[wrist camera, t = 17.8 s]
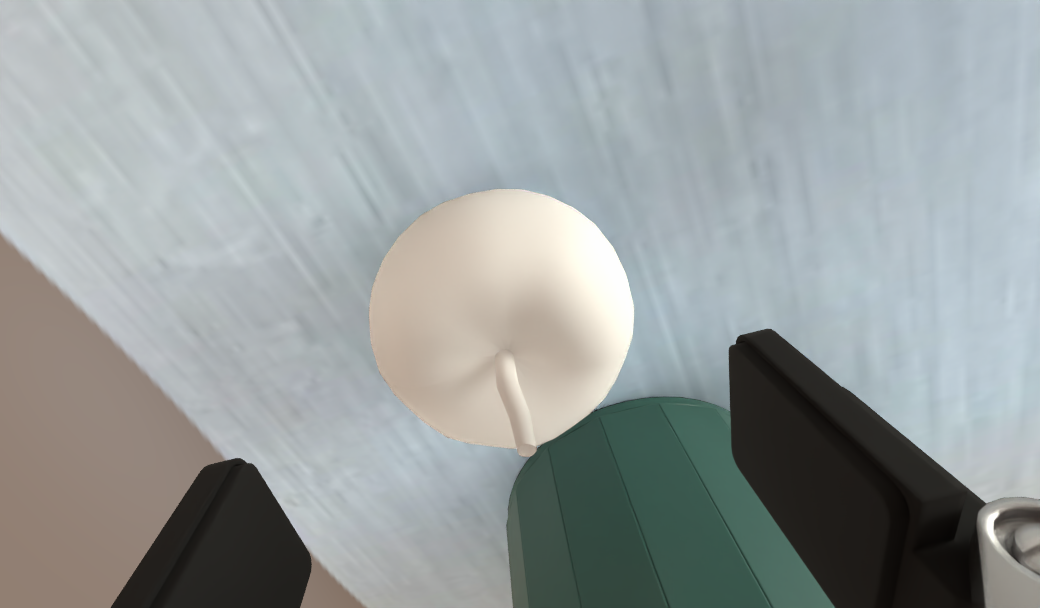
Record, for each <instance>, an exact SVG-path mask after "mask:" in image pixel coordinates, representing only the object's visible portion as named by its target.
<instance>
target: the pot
mask: <svg viewBox="0 0 1040 608" xmlns="http://www.w3.org/2000/svg"><path fill="white" fill-rule="evenodd" d="M506 526H507V540H508V552H509V564H510V576H511V588H512V600H513V608H835V607H834V605H833V604H832V603H831V601H830V600H829V598H828V597H827V595H826V594H825V593H824V591H823V590H822V588H821V587H820V585H819V584H818V582H817V581H816V580H815V578H814V577H813V575H812V574H811V572H810V571H809V569H808V568H807V567H806V565H805V564H804V562H803V561H802V559H801V558H800V557H799V555H798V554H797V552H796V551H795V549H794V548H793V546H792V545H791V544H790V542H789V541H788V539H787V538H786V536H785V535H784V534H783V532H782V531H781V529H780V528H779V526H778V525H777V523H776V522H775V521H774V519H773V518H772V516H771V515H770V513H769V512H768V511H767V509H766V508H765V506H764V505H763V503H762V502H761V500H760V499H759V498H758V496H757V495H756V493H755V492H754V490H753V489H752V487H751V486H750V485H749V483H748V482H747V480H746V479H745V477H744V476H743V475H742V473H741V472H740V470H739V469H738V467H737V465H736V463H735V461H734V458H733V455H732V449H731V416H730V411H728V410H726V409H723V408H721V407H719V406H717V405H714V404H711V403H707V402H704V401H700V400H695V399H688V398H682V397H654V398H643V399H637V400H631V401H626V402H622V403H619V404H615V405H612V406H608V407H605V408H603V409H600V410H598V411H595V412H593V413H590V414H589V415H587V416H586V417H585V418H583V419H582V420H581V421H579V422H578V423H577V424H575V425H574V426H573V427H571V428H570V429H568V430H567V431H565V432H564V433H562V434H561V435H559V436H558V437H556V438H555V439H553V440H550V441H548V442H545V443H544V444H543V445H541V446H540V448H539V449H538V450H537V451H536V453H535V454H534V455H532V456H531V457H530V459H529V460H528V461H527V463H526V464H525V466H524V467H523V468H522V470H521V472H520V474H519V476H518V478H517V479H516V481H515V483H514V486H513V489H512V492H511V495H510V500H509V507H508V520H507V525H506Z"/></svg>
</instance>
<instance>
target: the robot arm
mask: <svg viewBox="0 0 1040 608" xmlns="http://www.w3.org/2000/svg"><path fill="white" fill-rule="evenodd" d="M729 380H730V416H731V449H732V455H733V458H734V461H735V463H736V465H737V467H738V469H739V470H740V472H741V473H742V475H743V476H744V477H745V479H746V480H747V482H748V483H749V485H750V486H751V487H752V489H753V490H754V492H755V493H756V495H757V496H758V498H759V499H760V500H761V502H762V503H763V505H764V506H765V508H766V509H767V511H768V512H769V513H770V515H771V516H772V518H773V519H774V521H775V522H776V523H777V525H778V526H779V528H780V529H781V531H782V532H783V534H784V535H785V536H786V538H787V539H788V541H789V542H790V544H791V545H792V546H793V548H794V549H795V551H796V552H797V554H798V555H799V557H800V558H801V559H802V561H803V562H804V564H805V565H806V567H807V568H808V569H809V571H810V572H811V574H812V575H813V577H814V578H815V580H816V581H817V582H818V584H819V585H820V587H821V588H822V590H823V591H824V593H825V594H826V595H827V597H828V598H829V600H830V601H831V603H832V604H833V605H834V607H835V608H1040V499H1033V498H1027V497H1009V498H1000V499H998V500H995V501H992V502H989V503H987V504H986V503H985V502H984V501H983V500H981V499H980V498H979V497H978V496H977V495H975V494H974V493H973V492H972V491H970V490H969V489H968V488H967V487H966V486H964V485H963V484H962V483H961V482H960V481H958V480H957V479H956V478H955V477H953V476H952V475H951V474H950V473H949V472H947V471H946V470H945V469H944V468H943V467H941V466H940V465H939V464H938V463H936V462H935V461H934V460H933V459H932V458H930V457H929V456H928V455H927V454H926V453H924V452H923V451H922V450H921V449H919V448H918V447H917V446H916V445H915V444H913V443H912V442H911V441H910V440H909V439H907V438H906V437H905V436H904V435H902V434H901V433H900V432H899V431H898V430H896V429H895V428H894V427H893V426H892V425H890V424H889V423H888V422H887V421H885V420H884V419H883V418H882V417H881V416H879V415H878V414H877V413H876V412H875V411H873V410H872V409H871V408H870V407H868V406H867V405H866V404H865V403H864V402H862V401H861V400H860V399H859V398H858V397H856V396H855V395H854V394H853V393H851V392H850V391H848V390H847V389H845V388H844V387H841V386H840V385H839V384H838V383H836V382H835V381H834V380H833V379H832V378H830V377H829V376H828V375H827V374H826V373H824V372H823V371H822V370H821V369H820V368H818V367H817V366H816V365H815V364H814V363H812V362H811V361H810V360H809V359H808V358H806V357H805V356H804V355H803V354H802V353H800V352H799V351H798V350H797V349H795V348H794V347H793V346H792V345H791V344H789V343H788V342H787V341H786V340H785V339H783V338H782V337H781V336H780V335H779V334H777V333H776V332H775V331H773V330H772V329H764V330H760V331H756V332H752V333H748V334H744V335H740V336H739V337H738V338H737V340H736V344H735V345H732V346H730V348H729ZM311 565H312V564H311V557H310V554H309V552H308V550H307V548H306V547H305V545H304V543H303V542H302V540H301V539H300V537H299V535H298V534H297V532H296V531H295V529H294V527H293V526H292V524H291V523H290V521H289V519H288V518H287V516H286V515H285V513H284V511H283V510H282V508H281V506H280V505H279V503H278V502H277V500H276V498H275V497H274V495H273V494H272V492H271V490H270V489H269V487H268V486H267V484H266V482H265V481H264V479H263V478H262V476H261V474H260V473H259V471H258V469H257V468H256V467H255V466H254V465H253V464H251V463H246V462H245V461H244V460H243V459H241V458H235V459H231V460H227V461H223V462H219V463H214V464H211V465H208V466H206V467H204V468H203V469H202V470H201V471H200V473H199V474H198V476H197V477H196V479H195V480H194V482H193V484H192V485H191V487H190V488H189V490H188V491H187V493H186V494H185V496H184V497H183V499H182V500H181V502H180V503H179V505H178V507H177V508H176V509H175V511H174V512H173V514H172V515H171V517H170V518H169V520H168V521H167V523H166V524H165V526H164V527H163V529H162V530H161V532H160V534H159V535H158V537H157V538H156V540H155V541H154V543H153V544H152V546H151V547H150V549H149V550H148V552H147V553H146V555H145V556H144V558H143V559H142V561H141V563H140V564H139V565H138V567H137V568H136V570H135V571H134V573H133V574H132V576H131V577H130V579H129V580H128V582H127V584H126V585H125V587H124V588H123V590H122V591H121V593H120V594H119V596H118V597H117V599H116V600H115V602H114V603H113V605H112V606H111V608H300V606H301V603H302V599H303V596H304V593H305V590H306V586H307V583H308V580H309V577H310V573H311Z"/></svg>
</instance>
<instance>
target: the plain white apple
mask: <svg viewBox="0 0 1040 608" xmlns="http://www.w3.org/2000/svg"><path fill="white" fill-rule="evenodd" d="M633 322H634V305H633V301H632V296H631V292H630V288H629V284H628V280H627V276H626V273H625V271H624V269H623V267H622V265H621V263H620V261H619V258H618V256H617V254H616V252H615V250H614V248H613V247H612V245H611V244H610V243H609V242H608V240H607V239H606V238H605V236H604V235H603V234H602V233H601V231H600V230H599V229H598V227H597V226H596V225H595V224H594V223H593V222H592V221H590V220H589V219H588V218H586V217H585V216H584V215H583V214H581V213H580V212H579V211H577V210H576V209H575V208H573V207H571V206H569V205H567V204H565V203H562V202H560V201H558V200H556V199H554V198H552V197H550V196H547V195H543V194H539V193H535V192H531V191H527V190H523V189H494V190H488V191H483V192H477V193H471V194H467V195H464V196H461V197H458V198H455V199H452V200H449V201H446V202H443V203H441V204H440V205H438V206H436V207H434V208H433V209H431V210H429V211H427V212H426V213H424V214H422V215H421V216H420V217H419V218H418V219H417V220H416V221H414V222H413V223H412V224H411V225H410V226H409V227H408V228H407V229H406V230H405V231H404V232H403V233H402V234H401V235H400V236H399V237H398V238H397V240H396V241H395V243H394V244H393V246H392V247H391V249H390V250H389V252H388V253H387V254H386V256H385V257H384V259H383V261H382V264H381V266H380V269H379V271H378V274H377V276H376V279H375V281H374V284H373V286H372V292H371V300H370V308H369V324H370V339H371V345H372V348H373V352H374V355H375V359H376V362H377V366H378V369H379V372H380V374H381V375H382V377H383V378H384V380H385V381H386V383H387V384H388V386H389V387H390V389H391V390H392V392H393V393H394V394H395V395H396V396H397V397H398V398H399V399H400V400H401V401H402V402H403V403H404V404H405V405H406V406H407V407H408V408H409V409H410V410H411V411H412V412H413V413H414V414H416V415H417V416H418V417H419V418H420V419H421V420H422V421H423V422H424V423H426V424H427V425H429V426H430V427H432V428H433V429H435V430H437V431H438V432H440V433H441V434H443V435H444V436H446V437H448V438H451V439H455V440H458V441H462V442H465V443H470V444H478V445H485V446H493V447H502V448H510V449H514V448H517V452H518V454H519V455H520V456H523V457H529V456H532V455H534V454H535V453H536V451H537V446H538V445H540V444H543V443H545V442H548V441H550V440H553V439H555V438H556V437H558V436H559V435H561V434H562V433H564V432H565V431H567V430H568V429H570V428H571V427H573V426H574V425H575V424H577V423H578V422H579V421H581V420H582V419H583V418H585V417H586V416H587V415H589V414H590V413H591V412H592V411H593V410H594V409H595V408H596V407H597V406H598V405H599V404H600V403H601V402H602V401H603V400H604V399H605V397H606V396H607V394H608V392H609V391H610V389H611V387H612V386H613V384H614V382H615V381H616V379H617V377H618V374H619V372H620V370H621V367H622V365H623V363H624V360H625V357H626V354H627V352H628V349H629V346H630V343H631V340H632V337H633Z"/></svg>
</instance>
